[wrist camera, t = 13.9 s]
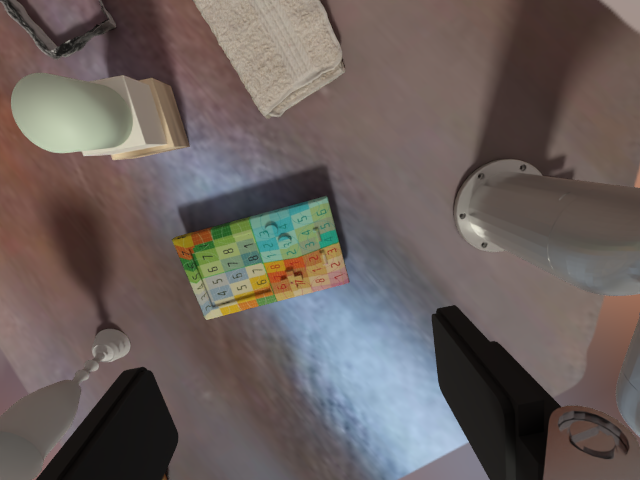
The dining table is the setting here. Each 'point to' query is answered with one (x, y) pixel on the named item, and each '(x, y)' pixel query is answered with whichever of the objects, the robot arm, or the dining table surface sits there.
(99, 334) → the chalice
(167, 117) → the oak base block
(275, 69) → the washcloth
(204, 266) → the puzzle game
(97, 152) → the cream middle block
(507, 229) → the robot arm
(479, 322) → the dining table surface
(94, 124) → the sage round block
